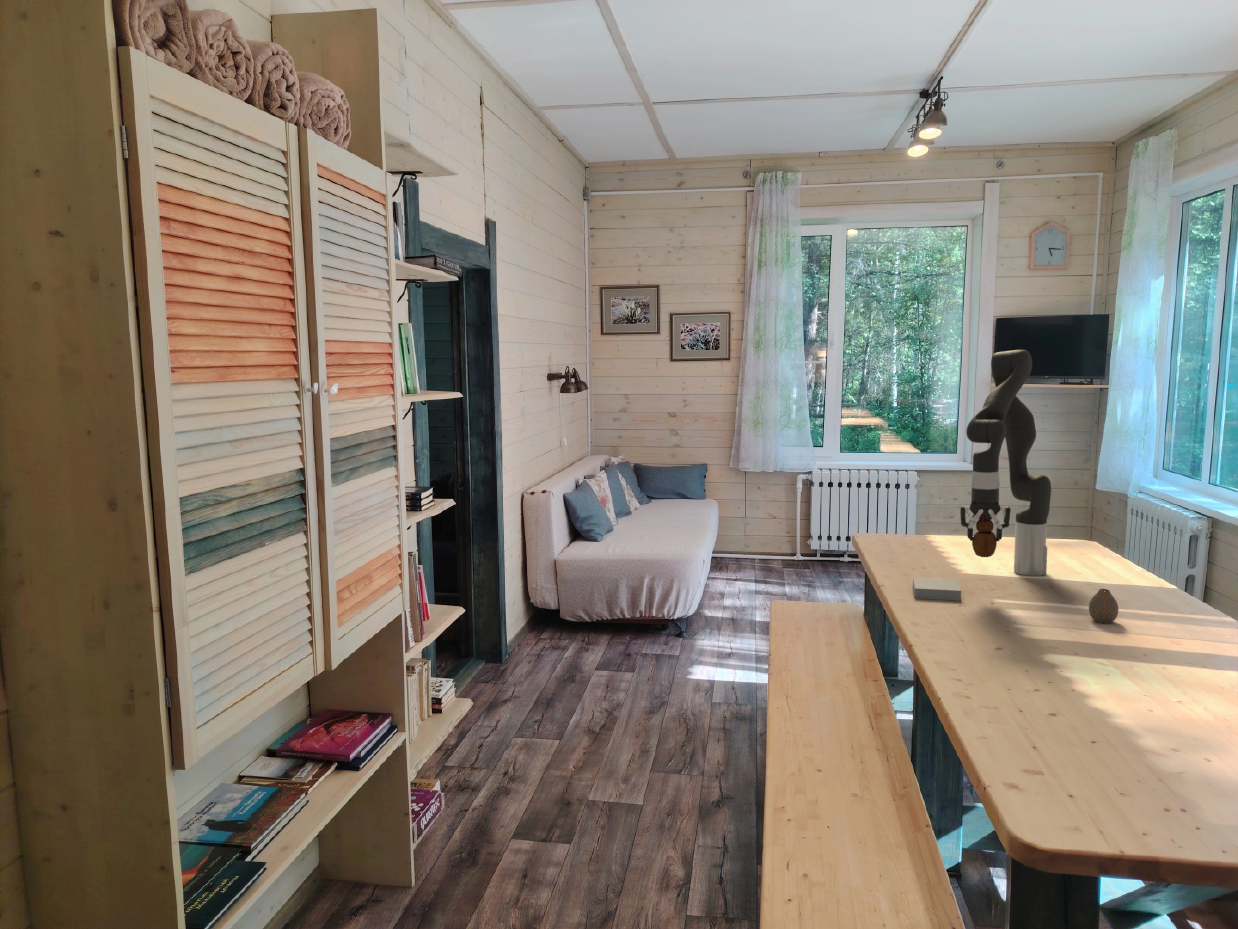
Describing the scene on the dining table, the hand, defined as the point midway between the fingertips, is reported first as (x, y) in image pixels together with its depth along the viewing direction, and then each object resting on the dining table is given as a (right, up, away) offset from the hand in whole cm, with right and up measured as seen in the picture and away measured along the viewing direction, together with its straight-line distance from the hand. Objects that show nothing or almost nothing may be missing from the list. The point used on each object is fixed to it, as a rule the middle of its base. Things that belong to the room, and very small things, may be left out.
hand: (984, 540), depth 243 cm
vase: (+21, -20, -24) cm, 38 cm away
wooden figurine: (0, -5, +1) cm, 5 cm away
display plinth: (-12, -17, +6) cm, 22 cm away
